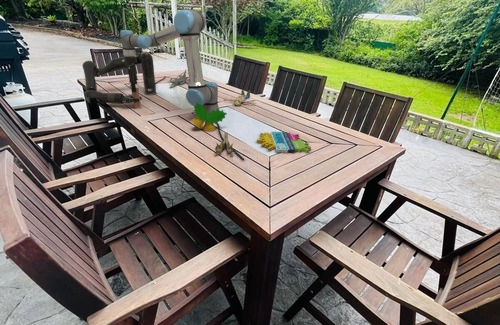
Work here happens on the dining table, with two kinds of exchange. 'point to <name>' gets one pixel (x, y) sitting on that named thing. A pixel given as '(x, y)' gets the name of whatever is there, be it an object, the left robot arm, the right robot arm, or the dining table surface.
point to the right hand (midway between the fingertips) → (135, 90)
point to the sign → (283, 142)
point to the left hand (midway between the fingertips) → (140, 99)
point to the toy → (241, 99)
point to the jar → (136, 96)
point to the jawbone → (224, 145)
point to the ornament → (207, 117)
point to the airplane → (179, 80)
